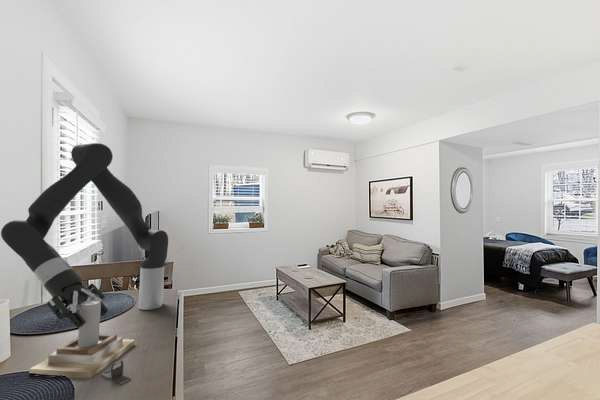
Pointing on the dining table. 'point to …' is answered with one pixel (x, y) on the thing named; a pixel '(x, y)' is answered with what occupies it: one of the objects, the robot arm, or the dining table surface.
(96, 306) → the beverage can
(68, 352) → the stand
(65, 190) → the robot arm
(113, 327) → the dining table surface
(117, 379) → the strap clip
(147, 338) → the dining table surface
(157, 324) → the dining table surface
